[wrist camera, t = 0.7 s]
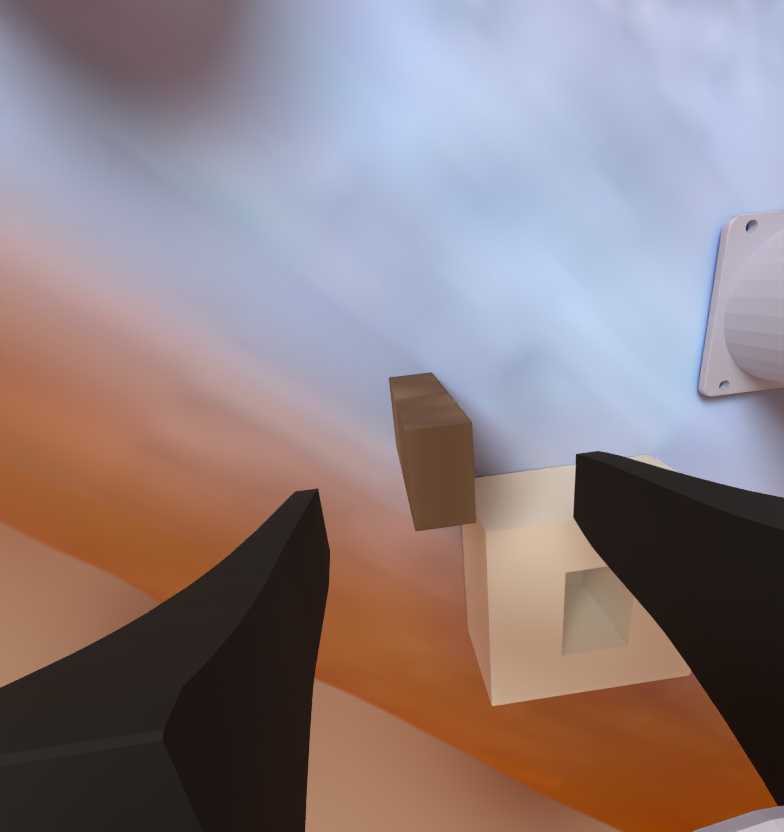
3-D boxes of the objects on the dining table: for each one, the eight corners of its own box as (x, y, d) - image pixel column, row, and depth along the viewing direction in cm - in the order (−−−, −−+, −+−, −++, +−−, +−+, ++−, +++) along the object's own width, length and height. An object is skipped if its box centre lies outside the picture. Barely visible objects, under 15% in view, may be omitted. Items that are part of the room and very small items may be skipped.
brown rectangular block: (431, 372, 18) (472, 422, 12) (436, 441, 19) (476, 523, 13) (388, 377, 18) (404, 430, 12) (396, 446, 19) (415, 531, 13)
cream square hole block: (647, 454, 20) (723, 499, 16) (630, 605, 24) (690, 675, 19) (459, 479, 20) (485, 532, 16) (467, 629, 23) (491, 706, 19)
